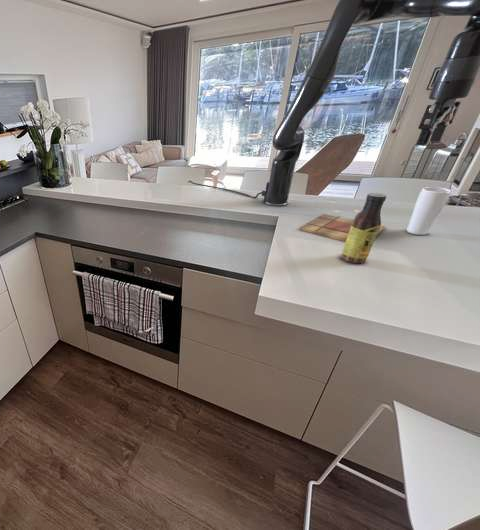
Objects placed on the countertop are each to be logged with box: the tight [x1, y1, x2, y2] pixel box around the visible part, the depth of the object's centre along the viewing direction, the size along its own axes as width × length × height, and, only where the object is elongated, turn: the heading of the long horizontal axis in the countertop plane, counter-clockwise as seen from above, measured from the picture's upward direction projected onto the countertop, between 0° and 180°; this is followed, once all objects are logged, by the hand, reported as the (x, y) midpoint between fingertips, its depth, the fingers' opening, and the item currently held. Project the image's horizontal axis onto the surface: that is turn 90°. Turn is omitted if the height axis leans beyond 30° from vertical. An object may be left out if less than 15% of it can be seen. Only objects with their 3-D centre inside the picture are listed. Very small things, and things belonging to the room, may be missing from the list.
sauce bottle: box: [341, 192, 387, 264], centre depth 82 cm, size 6×6×20 cm
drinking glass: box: [406, 186, 452, 236], centre depth 96 cm, size 7×7×15 cm
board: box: [299, 213, 386, 242], centre depth 105 cm, size 20×20×1 cm
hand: (427, 143), depth 85 cm, fingers open, 8 cm apart
